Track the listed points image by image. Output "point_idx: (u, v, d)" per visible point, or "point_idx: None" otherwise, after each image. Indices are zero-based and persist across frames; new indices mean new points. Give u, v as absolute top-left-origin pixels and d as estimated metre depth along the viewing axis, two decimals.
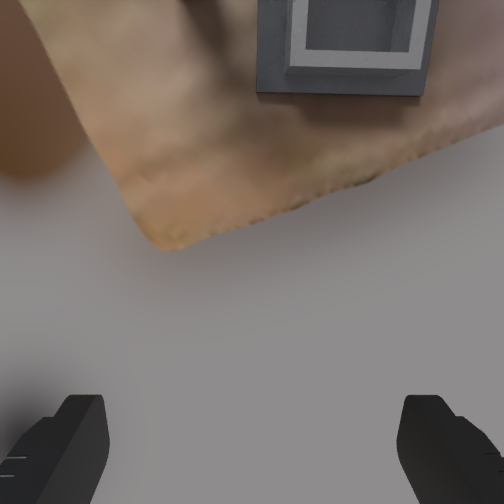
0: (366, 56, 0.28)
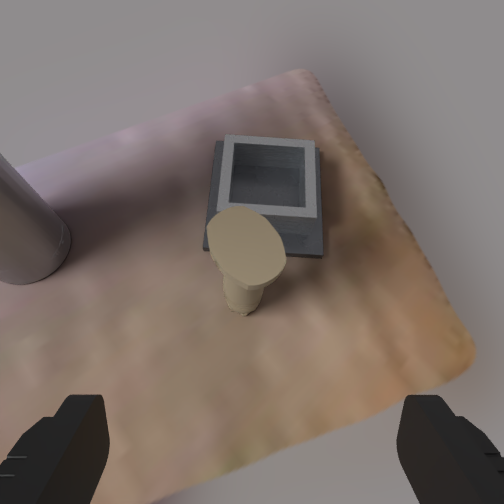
0: (308, 170, 0.40)
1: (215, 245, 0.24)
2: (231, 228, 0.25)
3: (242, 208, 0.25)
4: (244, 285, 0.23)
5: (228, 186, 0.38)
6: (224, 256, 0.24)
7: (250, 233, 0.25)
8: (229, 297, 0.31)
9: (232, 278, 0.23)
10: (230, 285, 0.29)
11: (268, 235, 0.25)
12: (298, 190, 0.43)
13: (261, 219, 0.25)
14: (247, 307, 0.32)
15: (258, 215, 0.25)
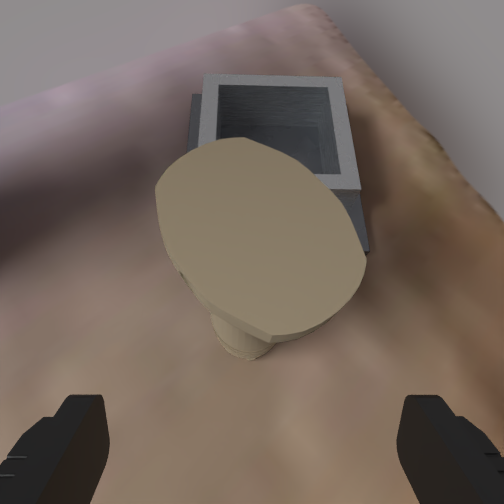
0: (337, 119, 0.25)
1: (178, 231, 0.09)
2: (217, 188, 0.10)
3: (241, 142, 0.11)
4: (260, 334, 0.09)
5: None
6: (203, 258, 0.09)
7: (265, 197, 0.10)
8: (223, 338, 0.16)
9: (225, 316, 0.09)
10: (224, 320, 0.14)
11: (311, 200, 0.10)
12: (319, 156, 0.29)
13: (289, 164, 0.10)
14: (258, 353, 0.18)
15: (281, 156, 0.11)
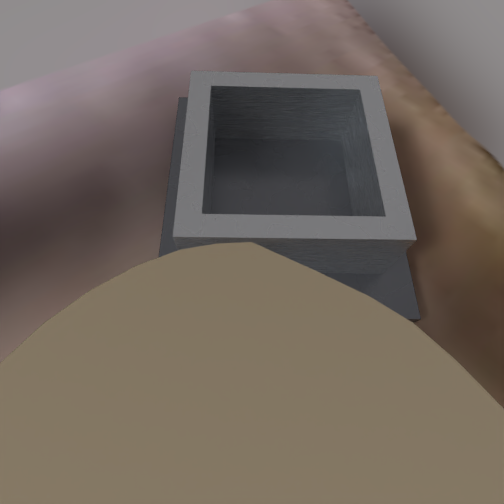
0: (375, 134, 0.18)
1: None
2: (160, 452, 0.03)
3: (243, 260, 0.04)
4: None
5: (200, 176, 0.16)
6: None
7: (325, 490, 0.03)
8: None
9: None
10: None
11: (489, 501, 0.03)
12: (345, 181, 0.22)
13: (392, 340, 0.03)
14: None
15: (363, 308, 0.03)
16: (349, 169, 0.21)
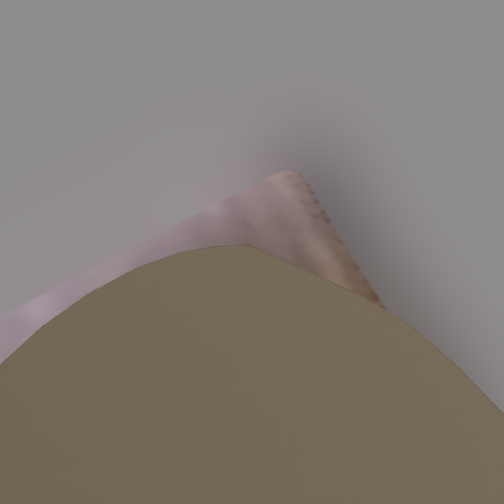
0: None
1: None
2: (158, 455, 0.03)
3: (241, 263, 0.04)
4: None
5: None
6: None
7: (325, 496, 0.03)
8: None
9: None
10: None
11: None
12: None
13: (391, 344, 0.03)
14: None
15: (362, 311, 0.03)
16: None
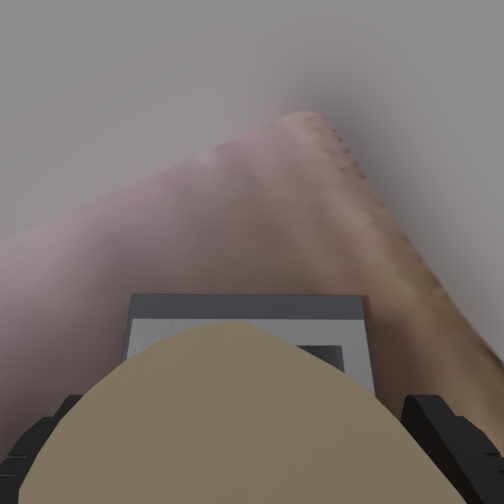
0: None
1: None
2: (178, 489, 0.04)
3: (239, 336, 0.05)
4: None
5: None
6: None
7: None
8: None
9: None
10: None
11: None
12: None
13: (351, 403, 0.04)
14: None
15: (330, 377, 0.05)
16: None
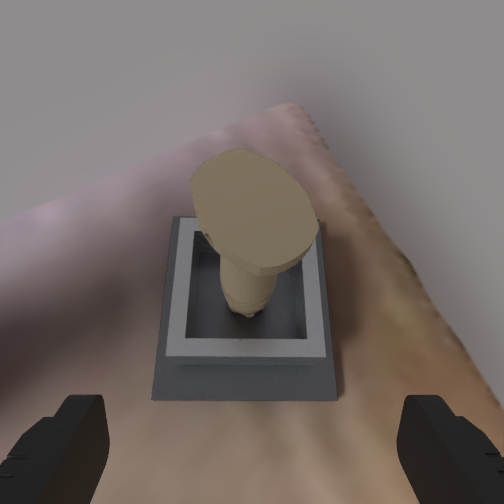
0: (307, 272, 0.26)
1: (205, 208, 0.15)
2: (229, 182, 0.16)
3: (244, 153, 0.17)
4: (254, 268, 0.15)
5: (185, 308, 0.24)
6: (220, 224, 0.15)
7: (258, 188, 0.16)
8: (229, 292, 0.22)
9: (233, 257, 0.15)
10: (231, 274, 0.20)
11: (287, 190, 0.16)
12: (293, 289, 0.30)
13: (274, 167, 0.16)
14: (255, 305, 0.24)
15: (269, 162, 0.16)
16: (296, 282, 0.29)
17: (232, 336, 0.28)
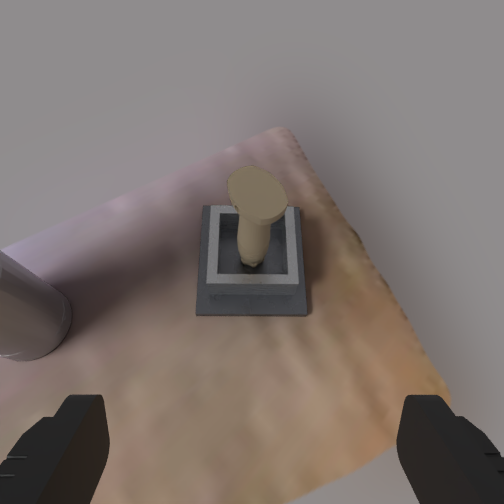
0: (289, 237, 0.43)
1: (235, 193, 0.32)
2: (245, 181, 0.33)
3: (252, 167, 0.34)
4: (258, 220, 0.32)
5: (216, 257, 0.41)
6: (242, 200, 0.32)
7: (259, 184, 0.33)
8: (243, 245, 0.40)
9: (248, 215, 0.32)
10: (245, 231, 0.37)
11: (273, 185, 0.33)
12: (281, 251, 0.47)
13: (267, 174, 0.34)
14: (257, 254, 0.41)
15: (265, 171, 0.34)
16: (283, 246, 0.46)
17: None
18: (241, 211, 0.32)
